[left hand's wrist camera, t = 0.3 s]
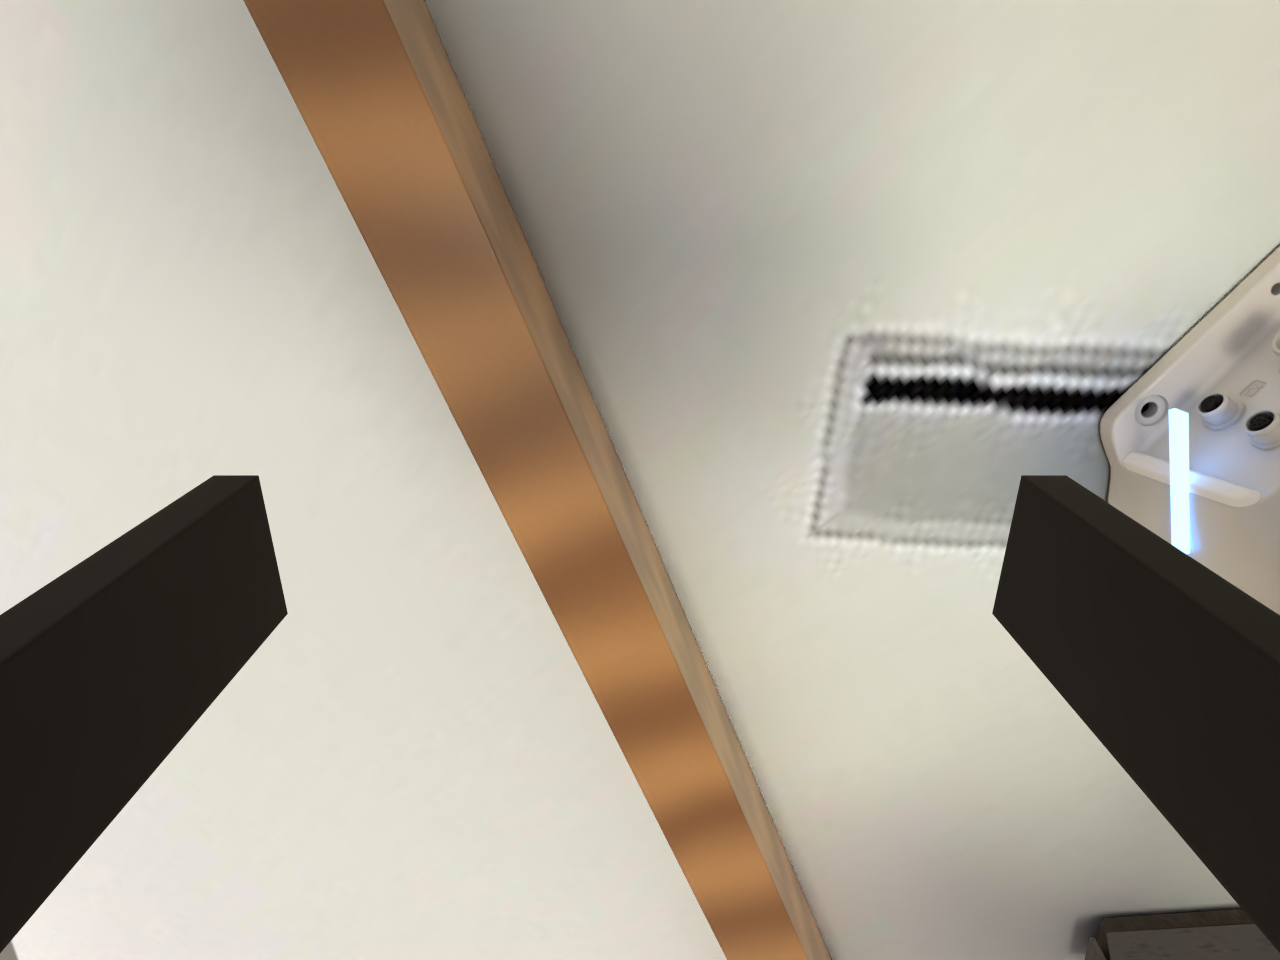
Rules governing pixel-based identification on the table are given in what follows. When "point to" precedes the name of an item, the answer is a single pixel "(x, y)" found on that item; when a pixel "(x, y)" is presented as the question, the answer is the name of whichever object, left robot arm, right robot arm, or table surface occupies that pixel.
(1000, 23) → the table surface
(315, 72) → the bar
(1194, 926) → the toy
